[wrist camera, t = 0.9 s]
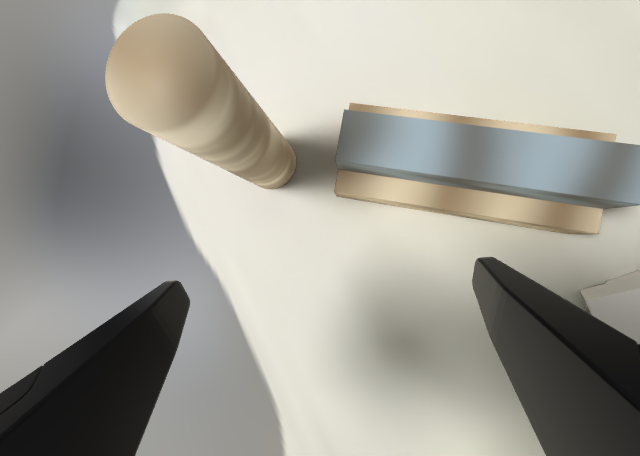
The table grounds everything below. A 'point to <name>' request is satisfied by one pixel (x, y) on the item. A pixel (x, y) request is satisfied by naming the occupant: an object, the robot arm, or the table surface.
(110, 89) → the maple post
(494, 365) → the table surface
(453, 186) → the ridge rail
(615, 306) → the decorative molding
